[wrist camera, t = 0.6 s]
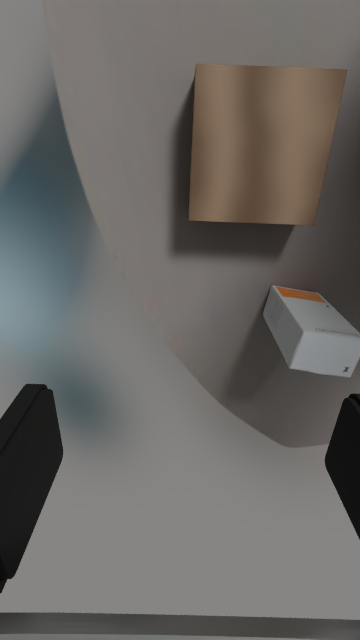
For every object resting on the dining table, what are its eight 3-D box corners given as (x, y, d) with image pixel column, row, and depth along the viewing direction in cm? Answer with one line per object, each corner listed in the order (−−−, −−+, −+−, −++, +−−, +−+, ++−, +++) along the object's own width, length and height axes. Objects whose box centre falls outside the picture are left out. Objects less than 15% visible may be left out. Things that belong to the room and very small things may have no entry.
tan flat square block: (322, 83, 30) (347, 69, 25) (297, 217, 35) (314, 225, 31) (194, 78, 30) (195, 63, 25) (188, 213, 35) (188, 220, 31)
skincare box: (319, 290, 39) (371, 340, 28) (307, 322, 40) (351, 380, 30) (269, 283, 38) (303, 330, 27) (260, 315, 40) (288, 371, 29)
